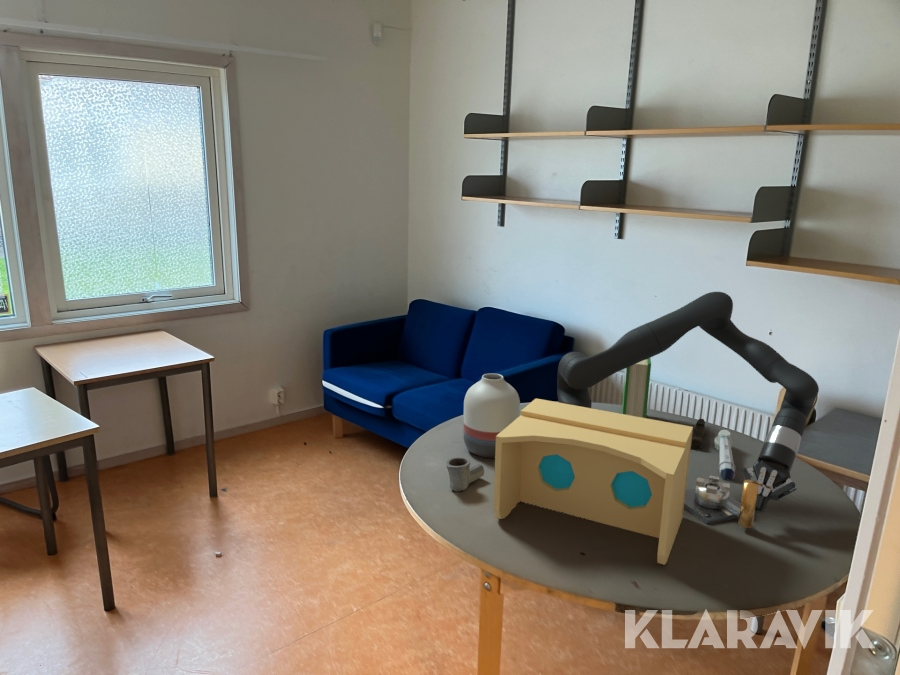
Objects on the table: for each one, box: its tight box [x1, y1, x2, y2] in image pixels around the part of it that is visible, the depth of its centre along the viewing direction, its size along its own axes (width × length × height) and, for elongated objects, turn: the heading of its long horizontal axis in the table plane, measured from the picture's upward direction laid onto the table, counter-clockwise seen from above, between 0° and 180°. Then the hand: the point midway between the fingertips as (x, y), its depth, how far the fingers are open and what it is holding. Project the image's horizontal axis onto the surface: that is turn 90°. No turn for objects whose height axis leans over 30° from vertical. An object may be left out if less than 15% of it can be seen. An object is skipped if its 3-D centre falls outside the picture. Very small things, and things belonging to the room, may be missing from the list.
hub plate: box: [684, 488, 741, 525], centre depth 166 cm, size 14×14×2 cm
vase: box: [462, 372, 521, 459], centre depth 195 cm, size 17×17×24 cm
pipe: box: [445, 456, 485, 492], centre depth 175 cm, size 6×13×8 cm, turn 136°
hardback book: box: [621, 358, 652, 418], centre depth 218 cm, size 18×7×24 cm, turn 165°
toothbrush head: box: [714, 429, 737, 481], centre depth 192 cm, size 5×7×25 cm
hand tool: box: [690, 418, 706, 451], centre depth 208 cm, size 19×4×5 cm, turn 151°
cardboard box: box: [493, 398, 694, 565], centre depth 156 cm, size 40×26×24 cm, turn 62°
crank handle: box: [694, 474, 759, 529], centre depth 160 cm, size 18×8×11 cm, turn 19°
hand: (756, 511), depth 155 cm, fingers closed
